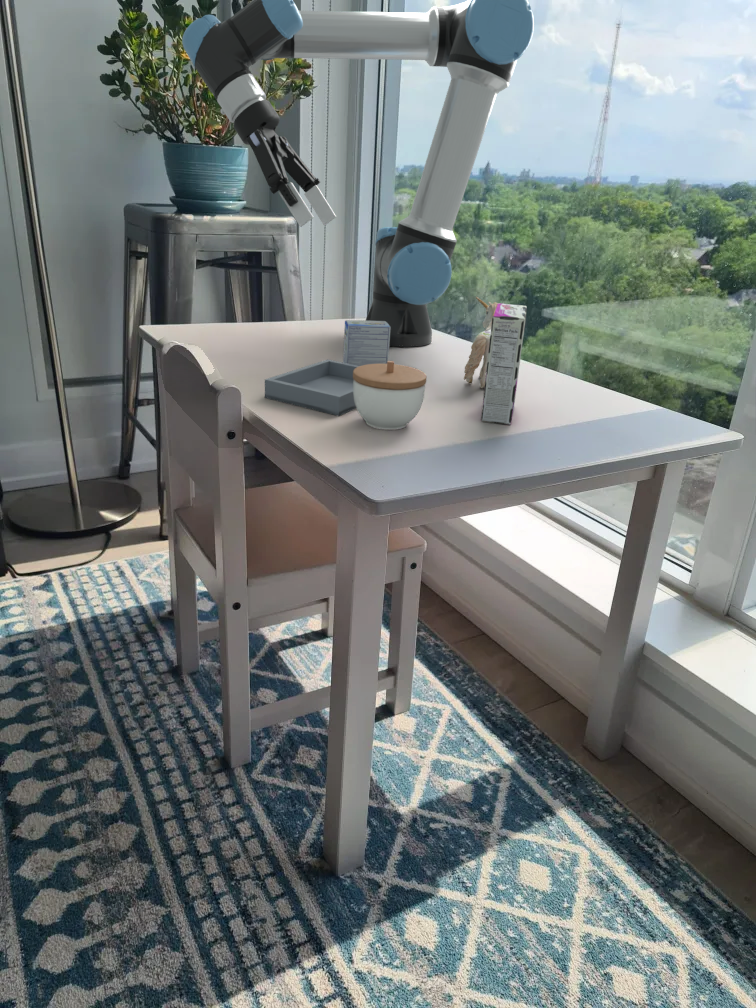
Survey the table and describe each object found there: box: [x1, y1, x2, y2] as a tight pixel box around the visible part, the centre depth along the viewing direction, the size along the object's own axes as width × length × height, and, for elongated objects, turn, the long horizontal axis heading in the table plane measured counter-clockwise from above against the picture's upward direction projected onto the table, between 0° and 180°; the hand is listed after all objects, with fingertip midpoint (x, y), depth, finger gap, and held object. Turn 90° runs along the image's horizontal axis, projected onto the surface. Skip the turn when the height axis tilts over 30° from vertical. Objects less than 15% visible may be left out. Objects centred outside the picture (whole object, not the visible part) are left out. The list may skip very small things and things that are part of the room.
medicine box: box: [342, 319, 391, 366], centre depth 141 cm, size 8×4×9 cm, turn 100°
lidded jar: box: [353, 360, 427, 431], centre depth 112 cm, size 11×11×9 cm
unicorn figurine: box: [463, 296, 500, 390], centre depth 138 cm, size 7×20×13 cm, turn 171°
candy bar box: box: [480, 302, 528, 425], centre depth 119 cm, size 11×5×16 cm, turn 168°
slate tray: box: [264, 358, 359, 417], centre depth 126 cm, size 18×14×3 cm
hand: (319, 221), depth 135 cm, fingers open, 13 cm apart
